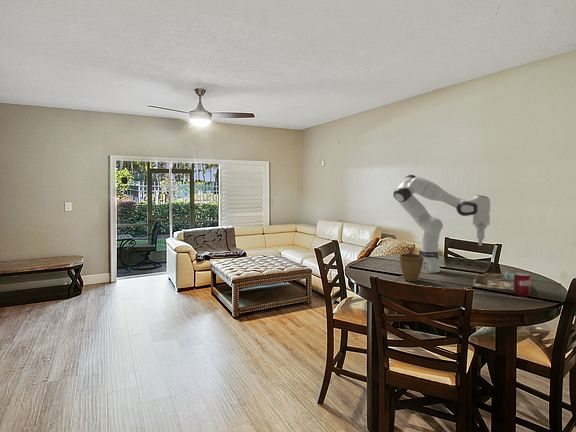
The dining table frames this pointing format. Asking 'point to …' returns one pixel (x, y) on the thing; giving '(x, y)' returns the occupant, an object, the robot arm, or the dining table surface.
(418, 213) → the robot arm
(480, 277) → the block
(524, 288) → the soda can
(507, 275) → the lid
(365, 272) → the dining table surface
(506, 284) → the board
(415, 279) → the plant pot
